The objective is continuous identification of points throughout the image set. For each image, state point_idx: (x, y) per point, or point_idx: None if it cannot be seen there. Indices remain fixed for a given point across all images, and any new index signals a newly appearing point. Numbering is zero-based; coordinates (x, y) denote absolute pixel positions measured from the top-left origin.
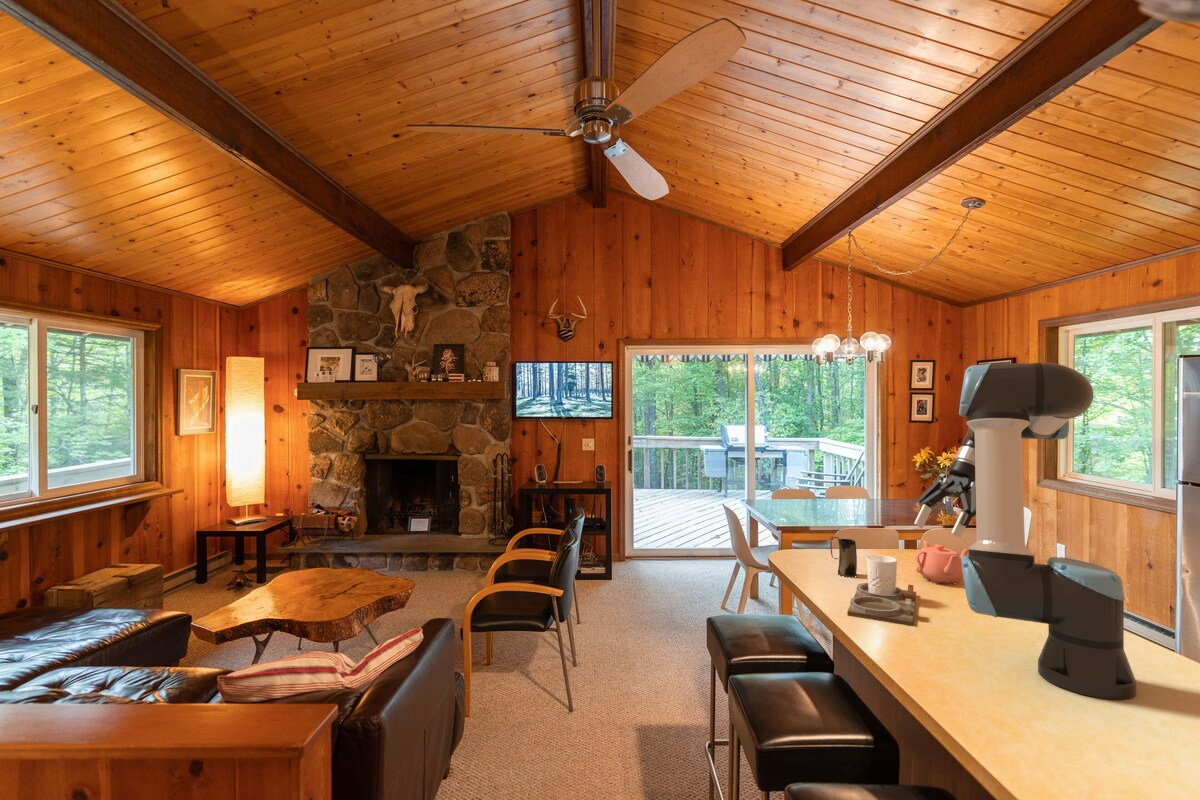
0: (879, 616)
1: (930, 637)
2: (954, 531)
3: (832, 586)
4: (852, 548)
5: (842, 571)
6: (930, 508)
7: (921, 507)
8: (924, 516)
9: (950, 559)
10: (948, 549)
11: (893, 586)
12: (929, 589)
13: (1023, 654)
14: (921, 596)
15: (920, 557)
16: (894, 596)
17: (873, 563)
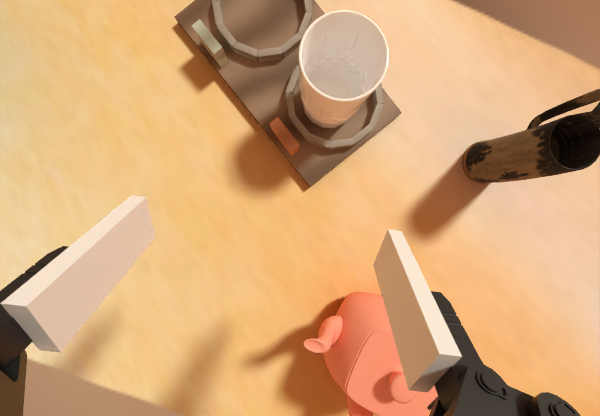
0: None
1: (123, 4)
2: (126, 202)
3: (427, 64)
4: (527, 145)
5: (486, 140)
6: (412, 380)
7: (464, 342)
8: (396, 300)
9: (326, 335)
10: (394, 414)
11: (301, 97)
12: (329, 249)
13: (10, 87)
14: (300, 191)
15: None
16: (286, 90)
17: (333, 18)
